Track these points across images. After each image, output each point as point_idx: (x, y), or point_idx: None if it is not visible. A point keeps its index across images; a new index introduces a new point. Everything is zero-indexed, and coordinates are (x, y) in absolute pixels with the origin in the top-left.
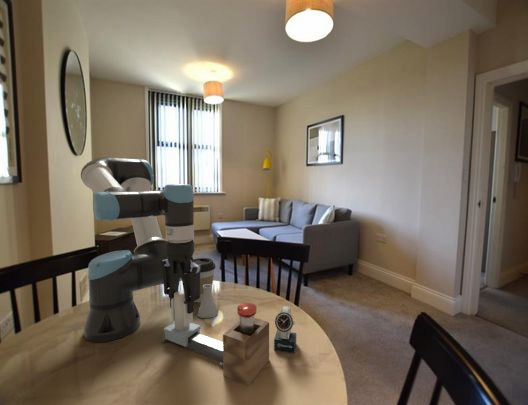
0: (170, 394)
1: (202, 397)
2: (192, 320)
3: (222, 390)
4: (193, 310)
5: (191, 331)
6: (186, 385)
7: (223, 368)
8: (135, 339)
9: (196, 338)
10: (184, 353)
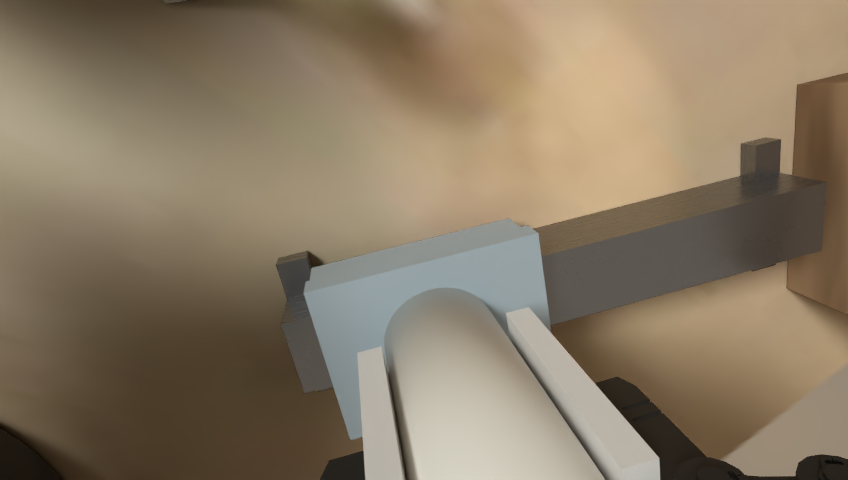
0: None
1: (779, 403)
2: (534, 316)
3: (825, 337)
4: (636, 394)
5: (547, 322)
6: (691, 418)
7: (818, 300)
8: (167, 473)
9: (578, 296)
10: None
